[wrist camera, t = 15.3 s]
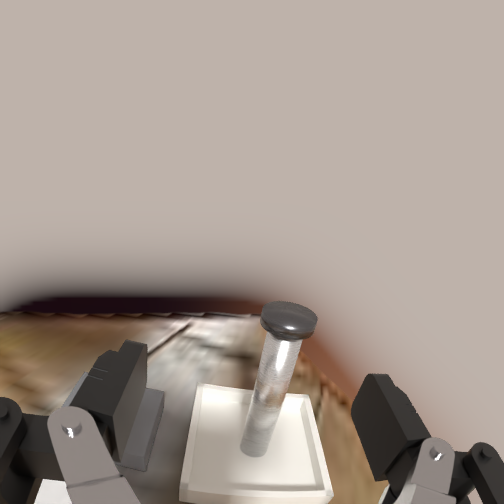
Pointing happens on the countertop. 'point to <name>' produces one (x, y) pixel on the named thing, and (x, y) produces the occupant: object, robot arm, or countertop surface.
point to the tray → (252, 468)
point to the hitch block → (137, 427)
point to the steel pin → (275, 370)
